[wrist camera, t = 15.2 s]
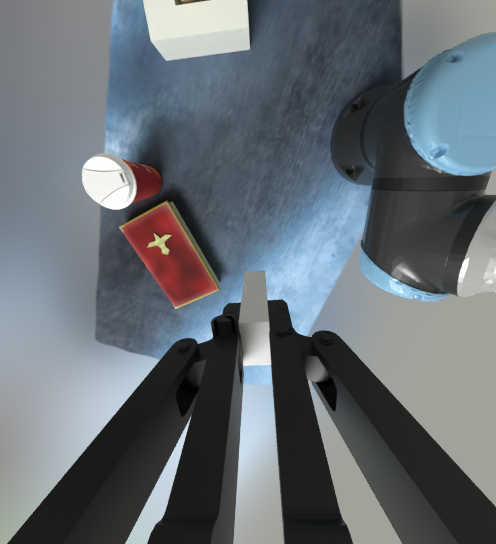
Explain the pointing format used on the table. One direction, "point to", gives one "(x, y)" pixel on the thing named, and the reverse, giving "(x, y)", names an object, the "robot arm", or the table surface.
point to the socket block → (197, 27)
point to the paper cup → (119, 181)
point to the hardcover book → (171, 254)
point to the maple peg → (191, 1)
